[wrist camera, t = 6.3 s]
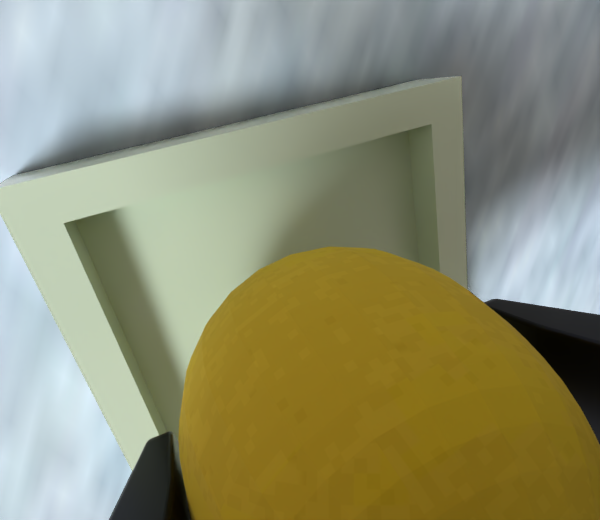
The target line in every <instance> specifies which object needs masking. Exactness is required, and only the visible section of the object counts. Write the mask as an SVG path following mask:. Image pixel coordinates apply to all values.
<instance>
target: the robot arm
mask: <svg viewBox="0 0 600 520" xmlns="http://www.w3.org/2000/svg"><path fill="white" fill-rule="evenodd" d="M484 303H485V304H486V305H487V306H489V307H490V308H491V309H492V310H494V311H495V312H496V313H497V314H499V315H500V316H501V317H502V318H503V319H505V320H506V321H507V322H508V323H509V324H511V325H512V326H513V327H514V328H515V329H516V330H517V331H518V332H519V333H520V334H521V335H522V336H523V337H524V338H525V339H526V340H527V341H528V342H529V343H530V344H531V345H532V346H533V347H534V348H535V349H536V350H537V351H538V352H539V353H540V354H541V356H542V357H543V358H544V359H545V360H546V361H547V362H548V364H549V365H550V366H551V367H552V369H553V370H554V371H555V372H556V373H557V375H558V376H559V377H560V378H561V380H562V381H563V382H564V384H565V385H566V387H567V388H568V390H569V391H570V393H571V394H572V396H573V397H574V399H575V400H576V402H577V403H578V405H579V406H580V408H581V410H582V411H583V413H584V415H585V417H586V419H587V421H588V422H589V424H590V426H591V428H592V430H593V432H594V434H595V436H596V438H597V440H598V442H599V444H600V315H597V314H591V313H584V312H578V311H571V310H565V309H559V308H552V307H546V306H539V305H533V304H527V303H520V302H514V301H508V300H501V299H492V300H489V301H487V302H484ZM109 520H191V518H190V513H189V508H188V502H187V497H186V491H185V486H184V480H183V475H182V469H181V463H180V456H179V442H178V440H177V438H176V436H175V434H174V433H173V432H172V431H168V432H165V433H163V434H160V435H158V436H156V437H153V438H151V439H149V440H148V441H147V442H146V444H145V446H144V448H143V450H142V452H141V455H140V457H139V459H138V461H137V463H136V465H135V467H134V469H133V471H132V473H131V475H130V477H129V479H128V481H127V483H126V486H125V488H124V490H123V492H122V494H121V496H120V498H119V500H118V502H117V504H116V506H115V508H114V510H113V512H112V514H111V517H110V519H109Z"/></svg>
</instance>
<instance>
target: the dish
mask: <svg viewBox="0 0 600 520" xmlns="http://www.w3.org/2000/svg"><path fill="white" fill-rule="evenodd" d="M0 214H1V216H2V218H3V220H4V222H5V224H6V226H7V228H8V230H9V232H10V234H11V236H12V238H13V240H14V242H15V244H16V246H17V247H18V249H19V251H20V253H21V255H22V257H23V259H24V261H25V263H26V265H27V267H28V269H29V271H30V273H31V275H32V277H33V279H34V281H35V283H36V284H37V286H38V288H39V290H40V292H41V294H42V296H43V298H44V300H45V302H46V304H47V306H48V308H49V310H50V312H51V314H52V316H53V318H54V320H55V321H56V323H57V325H58V327H59V329H60V331H61V333H62V335H63V337H64V339H65V341H66V343H67V345H68V347H69V349H70V351H71V353H72V355H73V357H74V358H75V360H76V362H77V364H78V366H79V368H80V370H81V372H82V374H83V376H84V378H85V380H86V382H87V384H88V386H89V388H90V390H91V392H92V394H93V395H94V397H95V399H96V401H97V403H98V405H99V407H100V409H101V411H102V413H103V415H104V417H105V419H106V421H107V423H108V425H109V427H110V429H111V431H112V432H113V434H114V436H115V438H116V440H117V442H118V444H119V446H120V448H121V450H122V452H123V454H124V456H125V458H126V460H127V462H128V464H129V466H130V468H131V470H132V471H133V469H134V467H135V465H136V463H137V461H138V459H139V457H140V455H141V452H142V450H143V448H144V446H145V444H146V442H147V441H148V440H149V439H151V438H153V437H156V436H158V435H160V434H163V433H165V432H168V431H172V432H173V433H174V434H175V436H176V438H177V440H178V436H179V419H180V412H181V405H182V398H183V391H184V384H185V377H186V371H187V368H188V365H189V362H190V359H191V356H192V354H193V352H194V350H195V348H196V345H197V343H198V341H199V339H200V336H201V334H202V332H203V330H204V328H205V325H206V324H207V322H208V321H209V319H210V318H211V317H212V315H213V314H214V313H215V312H216V310H217V309H218V308H219V307H220V305H221V304H222V303H223V301H224V300H225V299H226V298H227V296H228V295H229V294H230V293H231V291H233V290H234V289H235V288H236V287H238V286H239V285H240V284H241V283H243V282H244V281H245V280H246V279H248V278H249V277H250V276H251V275H253V274H254V273H255V272H256V271H258V270H259V269H261V268H263V267H265V266H267V265H269V264H271V263H274V262H276V261H278V260H280V259H282V258H284V257H286V256H288V255H291V254H295V253H300V252H305V251H309V250H314V249H319V248H324V247H356V248H370V249H377V250H381V251H384V252H388V253H391V254H394V255H397V256H400V257H402V258H405V259H408V260H411V261H414V262H417V263H420V264H422V265H425V266H427V267H430V268H432V269H435V270H436V271H438V272H440V273H442V274H444V275H446V276H448V277H450V278H451V279H453V280H454V281H456V282H457V283H459V284H460V285H461V286H463V287H464V288H466V289H467V255H466V219H465V183H464V146H463V110H462V76H455V77H442V78H428V79H418V80H414V81H409V82H405V83H401V84H397V85H392V86H388V87H384V88H380V89H376V90H371V91H367V92H363V93H359V94H354V95H350V96H346V97H342V98H338V99H333V100H329V101H325V102H321V103H316V104H312V105H308V106H304V107H300V108H295V109H291V110H287V111H283V112H279V113H274V114H270V115H266V116H262V117H257V118H253V119H249V120H245V121H241V122H236V123H232V124H228V125H224V126H219V127H215V128H211V129H207V130H203V131H198V132H194V133H190V134H186V135H181V136H177V137H173V138H169V139H165V140H160V141H156V142H152V143H148V144H143V145H139V146H135V147H131V148H127V149H122V150H118V151H114V152H110V153H105V154H101V155H97V156H93V157H89V158H84V159H80V160H76V161H72V162H67V163H63V164H59V165H55V166H51V167H46V168H42V169H38V170H34V171H29V172H25V173H21V174H17V175H13V176H11V177H9V178H8V179H6V180H4V181H3V182H1V183H0Z"/></svg>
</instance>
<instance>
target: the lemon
mask: <svg viewBox="0 0 600 520" xmlns="http://www.w3.org/2000/svg"><path fill="white" fill-rule="evenodd" d="M178 442H179V456H180V463H181V469H182V475H183V480H184V486H185V491H186V497H187V502H188V508H189V513H190V518H191V520H600V444H599V442H598V440H597V438H596V436H595V434H594V432H593V430H592V428H591V426H590V424H589V422H588V421H587V419H586V417H585V415H584V413H583V411H582V410H581V408H580V406H579V405H578V403H577V402H576V400H575V399H574V397H573V396H572V394H571V393H570V391H569V390H568V388H567V387H566V385H565V384H564V382H563V381H562V380H561V378H560V377H559V376H558V375H557V373H556V372H555V371H554V370H553V369H552V367H551V366H550V365H549V364H548V362H547V361H546V360H545V359H544V358H543V357H542V356H541V354H540V353H539V352H538V351H537V350H536V349H535V348H534V347H533V346H532V345H531V344H530V343H529V342H528V341H527V340H526V339H525V338H524V337H523V336H522V335H521V334H520V333H519V332H518V331H517V330H516V329H515V328H514V327H513V326H512V325H511V324H509V323H508V322H507V321H506V320H505V319H503V318H502V317H501V316H500V315H499V314H497V313H496V312H495V311H494V310H492V309H491V308H490V307H489V306H487V305H486V304H485V303H484V302H482V301H481V300H480V299H479V298H477V297H476V296H475V295H473V294H472V293H471V292H470V291H468V290H467V289H466V288H464V287H463V286H461V285H460V284H459V283H457V282H456V281H454V280H453V279H451V278H450V277H448V276H446V275H444V274H442V273H440V272H438V271H436V270H435V269H432V268H430V267H427V266H425V265H422V264H420V263H417V262H414V261H411V260H408V259H405V258H402V257H400V256H397V255H394V254H391V253H388V252H384V251H381V250H377V249H370V248H356V247H324V248H319V249H314V250H309V251H305V252H300V253H295V254H291V255H288V256H286V257H284V258H282V259H280V260H278V261H276V262H274V263H271V264H269V265H267V266H265V267H263V268H261V269H259V270H258V271H256V272H255V273H254V274H253V275H251V276H250V277H249V278H248V279H246V280H245V281H244V282H243V283H241V284H240V285H239V286H238V287H236V288H235V289H234V290H233V291H231V293H230V294H229V295H228V296H227V298H226V299H225V300H224V301H223V303H222V304H221V305H220V307H219V308H218V309H217V310H216V312H215V313H214V314H213V315H212V317H211V318H210V319H209V321H208V322H207V324H206V325H205V328H204V330H203V332H202V334H201V336H200V339H199V341H198V343H197V345H196V348H195V350H194V352H193V354H192V356H191V359H190V362H189V365H188V368H187V371H186V377H185V384H184V391H183V398H182V405H181V412H180V419H179V436H178Z"/></svg>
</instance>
